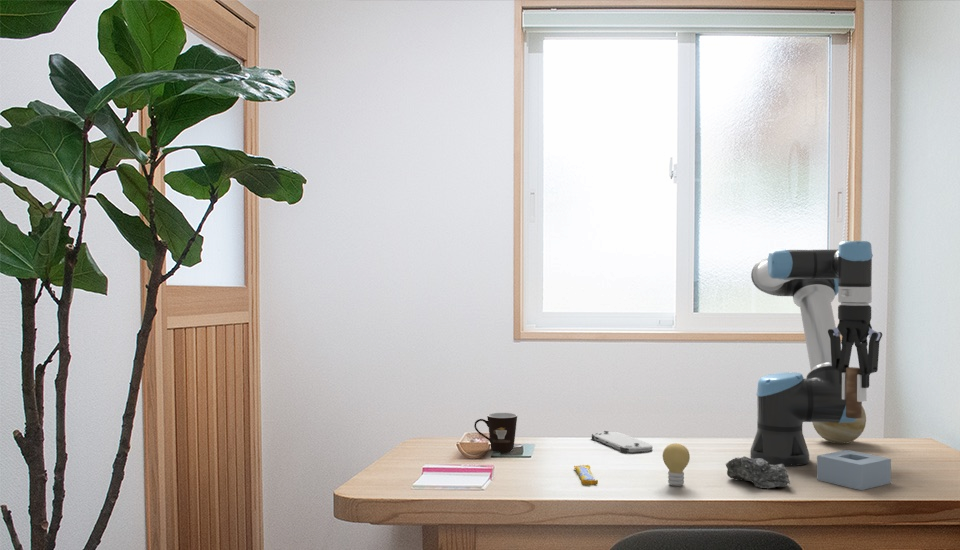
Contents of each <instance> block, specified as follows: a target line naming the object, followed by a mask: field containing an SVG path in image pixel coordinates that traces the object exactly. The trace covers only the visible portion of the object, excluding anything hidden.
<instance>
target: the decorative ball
mask: <svg viewBox="0 0 960 550" xmlns="http://www.w3.org/2000/svg"><path fill="white" fill-rule="evenodd" d="M811 423H812V426H813V428H814V430H815V431H816V433H817V434H818V436H820V437H821V438H822V439H824V440H825V441H827V442H829V443H833V444H835V445H836V444H838V445H839V444H840V445H842V444H849V443H851V442H853V441H855V440H857V439H859V437H860V436H861V435H862V434H863V432H864V430H865V428H866V423H867V415H866V411H865V409H864V407H863V405H862V418H857V420H856V421H854V422H849V423H831V422H811Z"/></svg>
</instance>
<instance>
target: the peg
mask: <svg viewBox="0 0 960 550" xmlns="http://www.w3.org/2000/svg"><path fill="white" fill-rule="evenodd" d="M859 373H860V368H859V367H855V366H854V367H853V366H851V367H850V366H849V367H847V368H846V417H848V418H862V406H863V401H862V402H857V375H858V374H859Z"/></svg>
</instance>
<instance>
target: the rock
mask: <svg viewBox="0 0 960 550" xmlns="http://www.w3.org/2000/svg"><path fill="white" fill-rule="evenodd" d="M725 466H726V469H727V470H726V474H727V476H728V477H729V478H730V479H732V480H735V479H737V481H746V480H748V481H749V482H752V483H753V485H754V487H755V488H760V489H762V488H767V489H771V488H773V489H774V488H776V487H777V488H785V487H787V486H788V484H790V483H791V480H790V477H789V474H788V471H787V470H786V469H787V468H786V466H784V465H783V464H777V465H771V464H769V463H768V462H766V461H765V460H763V459H761V458H756V459H752V458H750V457H747V456H745V455H744V456H742V457H739V456H737V457H734V458H732V459H731V460H729V461H728V462H726V463H725Z"/></svg>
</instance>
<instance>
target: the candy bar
mask: <svg viewBox="0 0 960 550" xmlns="http://www.w3.org/2000/svg"><path fill="white" fill-rule="evenodd" d="M574 470H575V473H577V476H578V477H579V480H580V482H581V485H582V486H591V485H592V486H594V485H593V484H597V485H598V484H599V482H598V479H595V477H594V475H593V474H592V472H591V465H589V464H587V465H585V464H583V465H581V464H580V465H574Z"/></svg>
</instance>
